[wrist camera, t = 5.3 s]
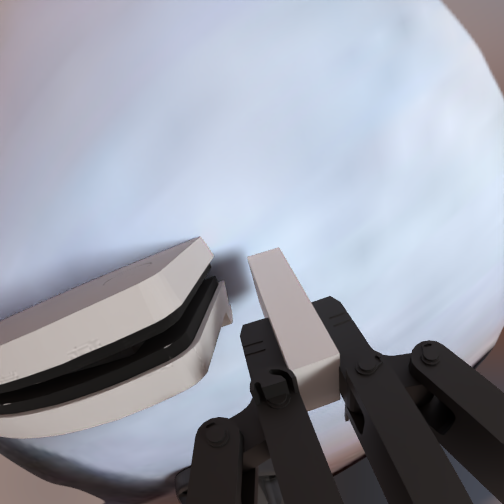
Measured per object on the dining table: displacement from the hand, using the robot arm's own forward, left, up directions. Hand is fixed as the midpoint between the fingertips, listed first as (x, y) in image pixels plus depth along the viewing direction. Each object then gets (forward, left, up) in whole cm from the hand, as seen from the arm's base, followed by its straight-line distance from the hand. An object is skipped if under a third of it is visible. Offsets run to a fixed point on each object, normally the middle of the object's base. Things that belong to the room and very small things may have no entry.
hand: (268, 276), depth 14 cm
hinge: (0, +10, -2) cm, 11 cm away
